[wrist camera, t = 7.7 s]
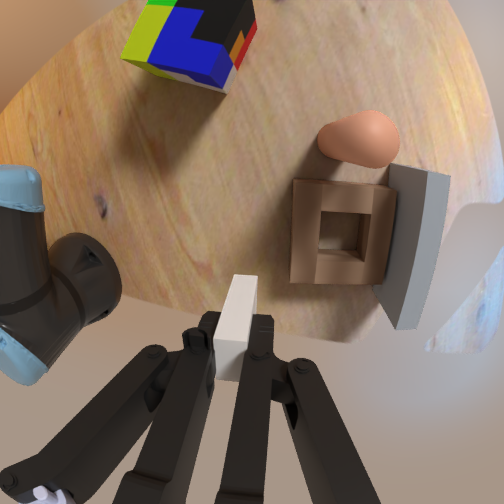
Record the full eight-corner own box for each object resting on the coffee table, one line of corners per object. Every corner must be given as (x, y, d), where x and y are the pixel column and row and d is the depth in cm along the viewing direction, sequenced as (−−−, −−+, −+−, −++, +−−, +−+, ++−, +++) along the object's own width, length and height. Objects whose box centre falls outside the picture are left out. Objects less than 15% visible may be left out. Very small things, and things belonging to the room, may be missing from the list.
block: (288, 269, 38) (289, 283, 34) (293, 178, 33) (295, 182, 29) (372, 271, 37) (382, 284, 33) (384, 185, 32) (397, 190, 29)
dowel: (316, 157, 32) (344, 165, 19) (317, 121, 31) (345, 106, 18) (351, 160, 32) (398, 171, 19) (353, 125, 30) (400, 115, 17)
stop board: (372, 289, 38) (395, 330, 29) (389, 163, 31) (427, 171, 22) (390, 289, 38) (416, 328, 28) (409, 165, 31) (450, 175, 22)
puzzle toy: (227, 94, 30) (209, 75, 21) (157, 76, 29) (119, 58, 20) (257, 29, 26) (250, -8, 17) (186, 14, 26) (160, -19, 17)
